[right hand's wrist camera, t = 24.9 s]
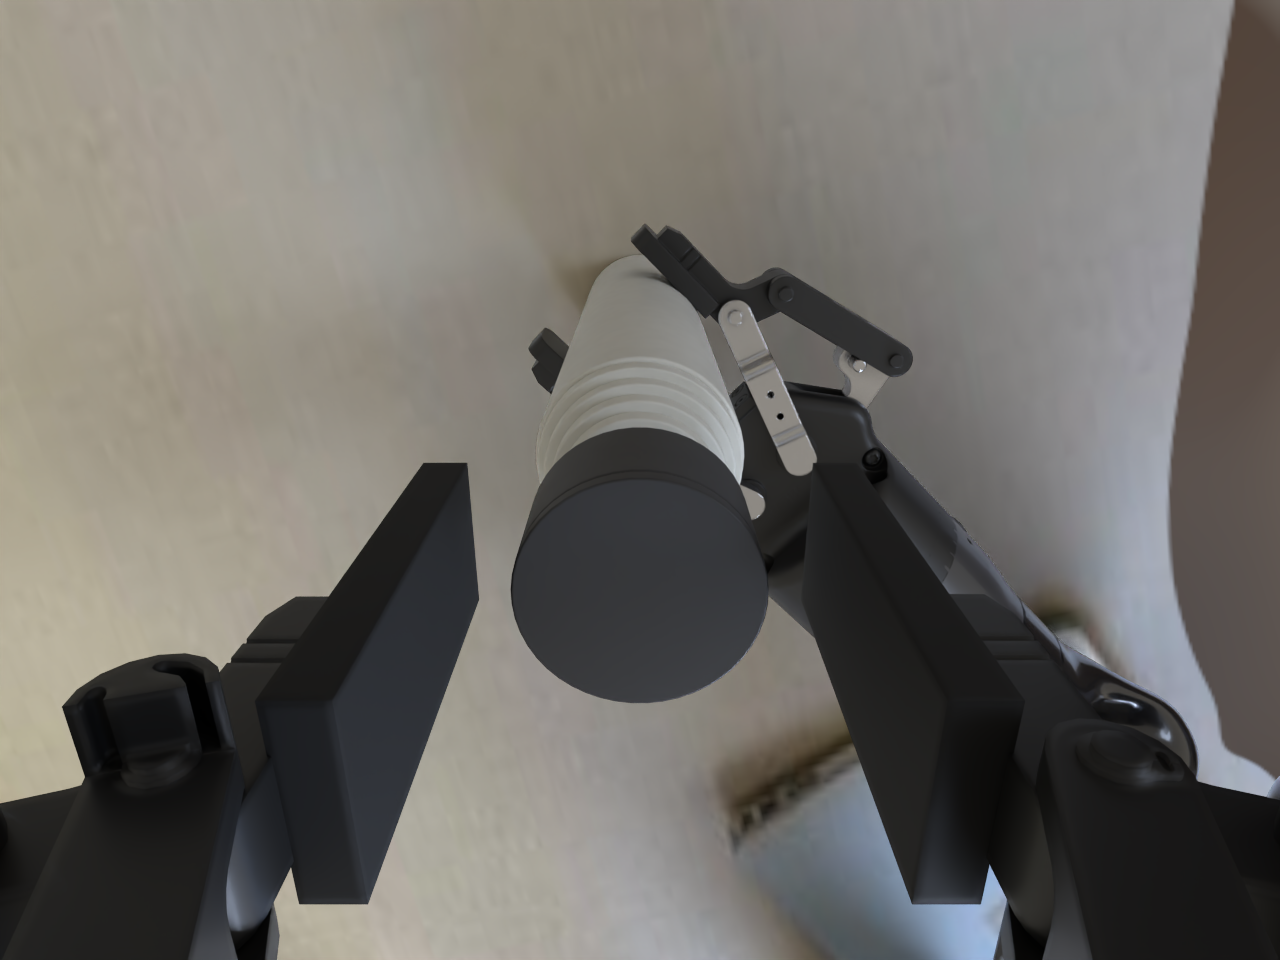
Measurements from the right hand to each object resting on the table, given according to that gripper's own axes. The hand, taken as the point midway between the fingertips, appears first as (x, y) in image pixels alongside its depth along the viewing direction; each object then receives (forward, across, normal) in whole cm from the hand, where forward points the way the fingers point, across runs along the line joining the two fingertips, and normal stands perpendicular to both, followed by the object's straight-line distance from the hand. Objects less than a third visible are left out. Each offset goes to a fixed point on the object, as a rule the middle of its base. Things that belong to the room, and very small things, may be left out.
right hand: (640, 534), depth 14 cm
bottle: (+23, 0, 0) cm, 23 cm away
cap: (-2, 0, 0) cm, 2 cm away
